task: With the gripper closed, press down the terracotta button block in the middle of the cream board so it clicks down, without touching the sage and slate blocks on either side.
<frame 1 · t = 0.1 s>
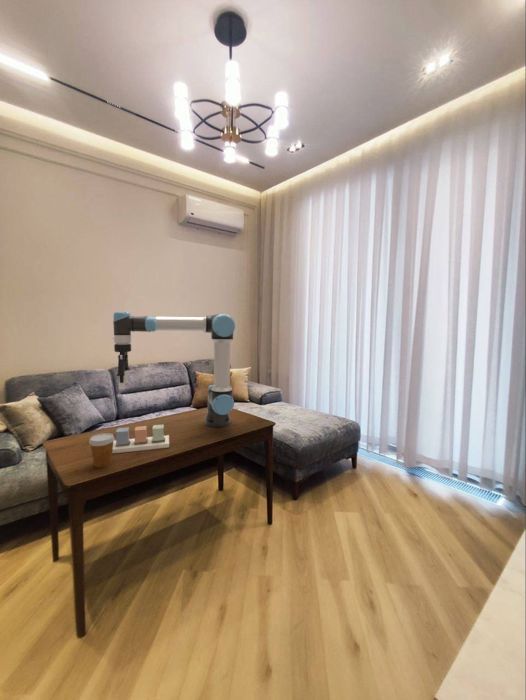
hand: (124, 386, 151), 28 cm above the table, fingers open, 13 cm apart
slate block: (122, 435, 144), point 6 cm above the table, slide at 0.0 cm
terracotta block: (140, 434, 146), point 6 cm above the table, slide at 0.0 cm
board: (141, 446, 147), on the table
sage block: (158, 432, 149), point 6 cm above the table, slide at 0.0 cm
disposable coffee cup: (102, 464, 128), on the table
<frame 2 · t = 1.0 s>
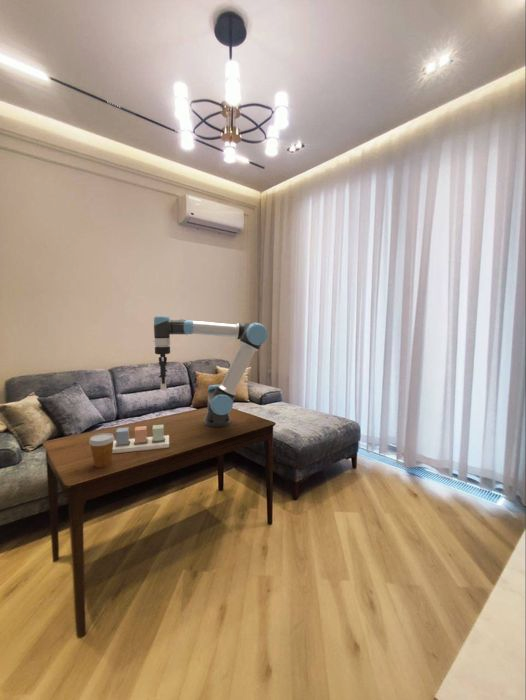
hand: (163, 386, 158), 26 cm above the table, fingers open, 13 cm apart
nothing on the table moved.
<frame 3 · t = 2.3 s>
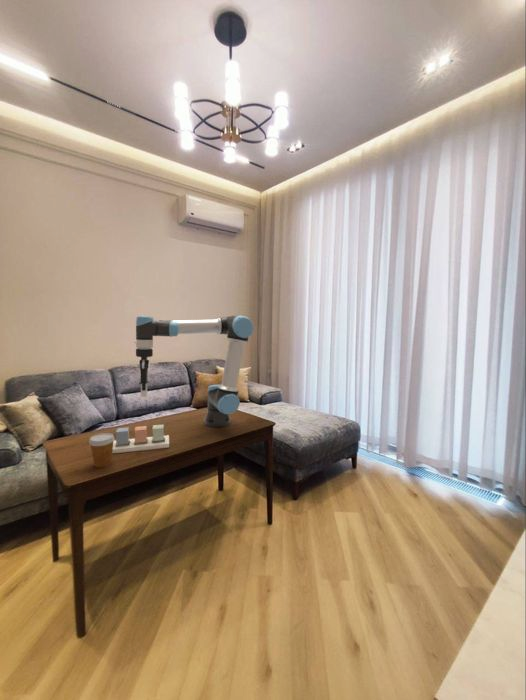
hand: (143, 396, 147), 24 cm above the table, fingers closed
nothing on the table moved.
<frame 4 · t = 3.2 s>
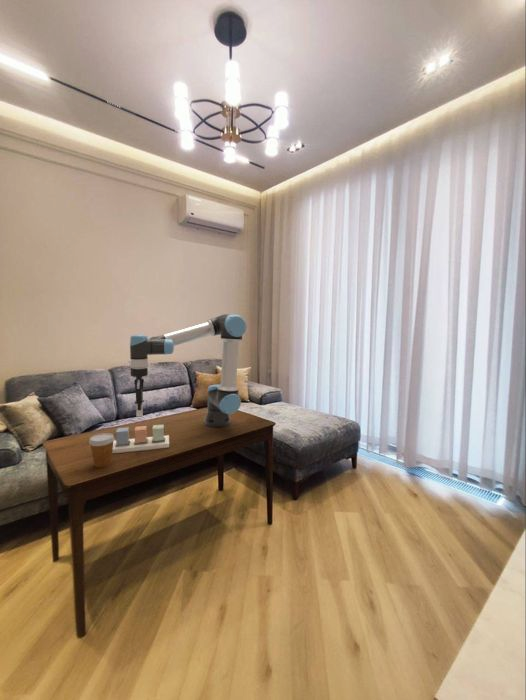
hand: (139, 416, 145), 15 cm above the table, fingers closed
nothing on the table moved.
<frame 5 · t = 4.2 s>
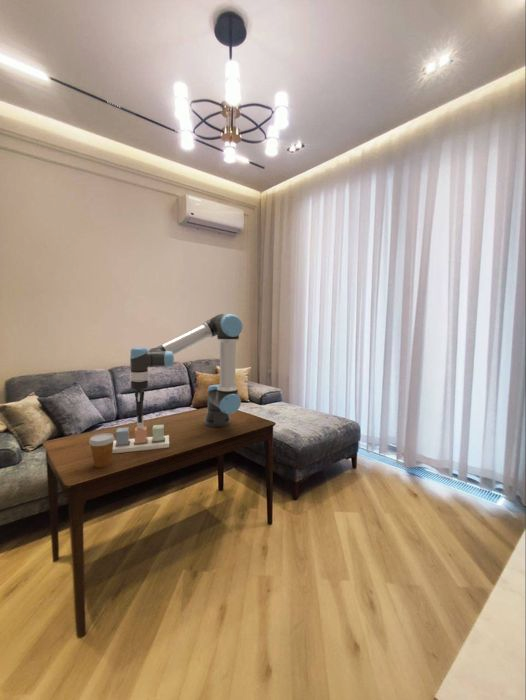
hand: (140, 428, 146), 9 cm above the table, fingers closed
terracotta block: (140, 434, 146), point 6 cm above the table, slide at 0.3 cm, touching gripper
everything else where it was.
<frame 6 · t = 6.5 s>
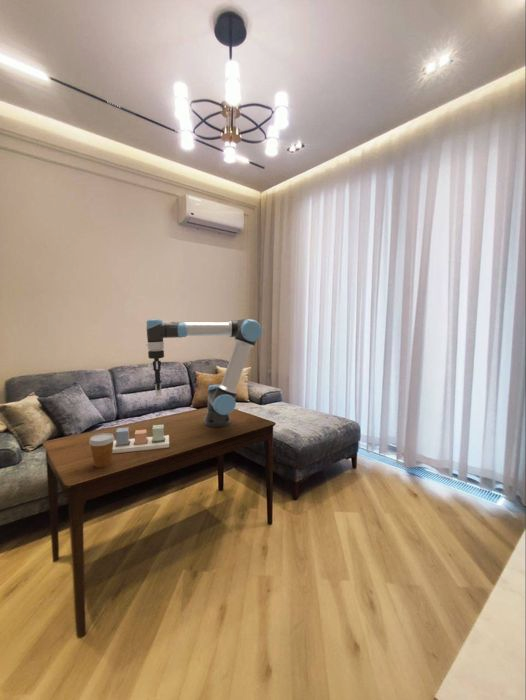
hand: (158, 395, 155), 22 cm above the table, fingers closed
terracotta block: (140, 437, 146), point 4 cm above the table, slide at 1.8 cm
everything else where it was.
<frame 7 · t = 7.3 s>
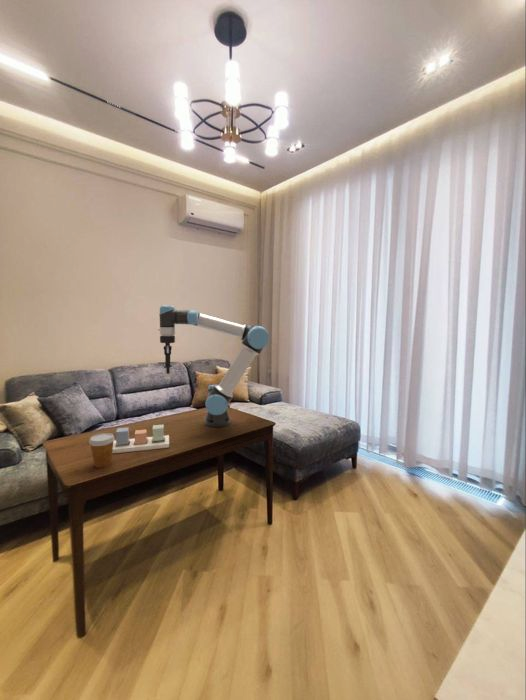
hand: (168, 379, 162), 29 cm above the table, fingers closed
nothing on the table moved.
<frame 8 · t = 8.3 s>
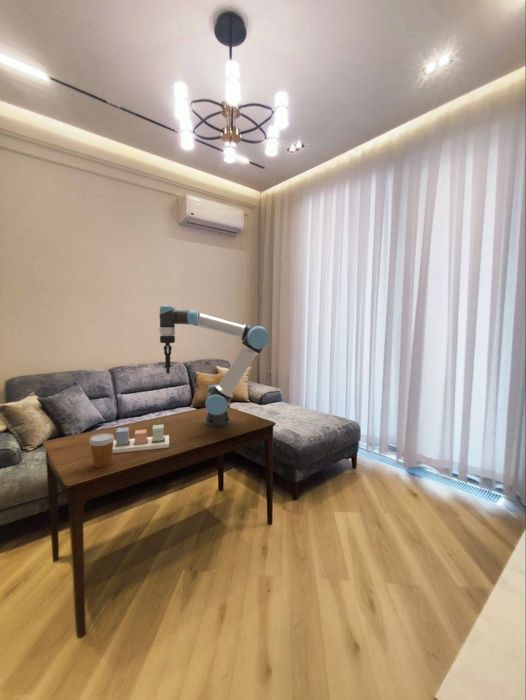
hand: (168, 379, 162), 29 cm above the table, fingers closed
nothing on the table moved.
at the end: terracotta block slide at 1.8 cm; sage block slide at 0.0 cm; slate block slide at 0.0 cm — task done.
